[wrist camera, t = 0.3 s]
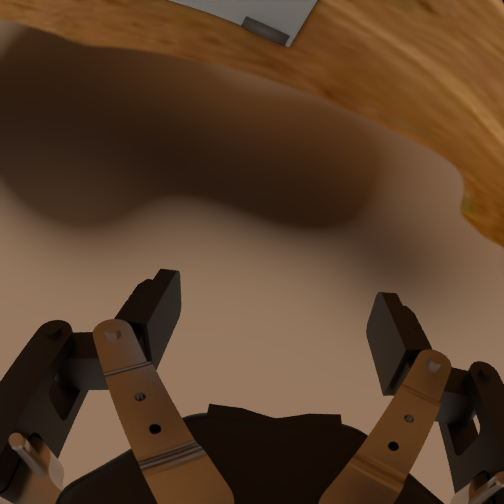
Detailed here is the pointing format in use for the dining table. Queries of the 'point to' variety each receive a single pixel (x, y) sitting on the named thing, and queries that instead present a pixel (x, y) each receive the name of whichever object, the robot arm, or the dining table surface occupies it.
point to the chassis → (260, 15)
